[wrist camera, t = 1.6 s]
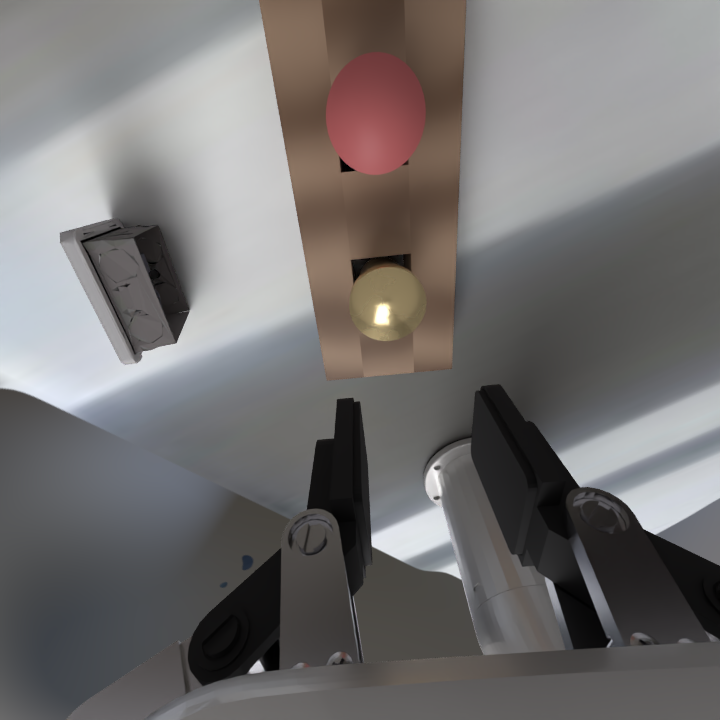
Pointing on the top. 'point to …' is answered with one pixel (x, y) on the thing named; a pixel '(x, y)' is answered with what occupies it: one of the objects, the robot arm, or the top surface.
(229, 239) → the top surface
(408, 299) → the brass plug
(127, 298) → the electrical switch
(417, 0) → the plug block
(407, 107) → the oxblood plug
